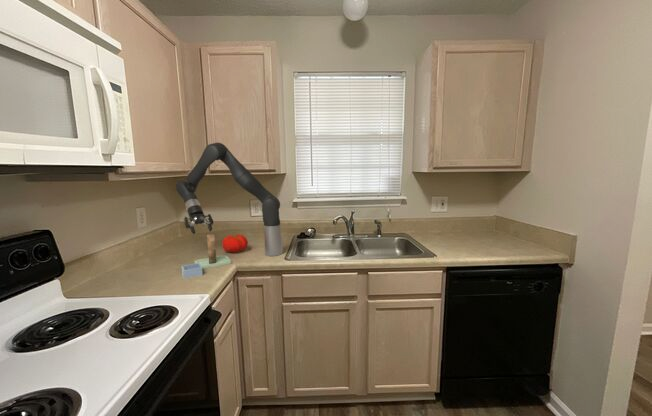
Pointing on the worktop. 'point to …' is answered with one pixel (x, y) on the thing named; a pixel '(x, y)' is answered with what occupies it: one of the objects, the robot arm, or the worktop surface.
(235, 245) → the tomato
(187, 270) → the pale blue open box
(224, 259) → the tray
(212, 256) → the dowel
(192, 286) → the worktop surface
